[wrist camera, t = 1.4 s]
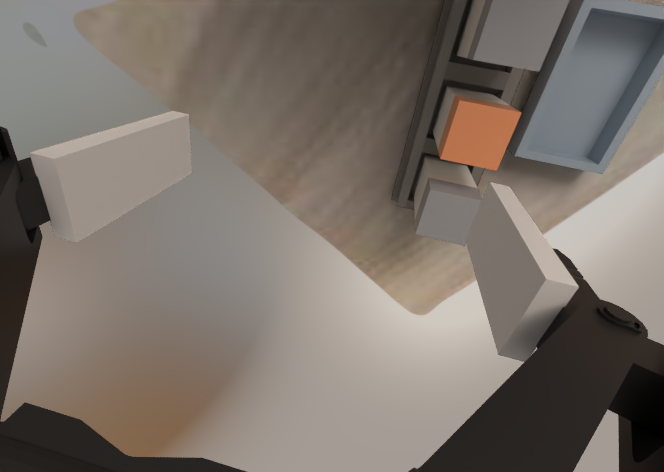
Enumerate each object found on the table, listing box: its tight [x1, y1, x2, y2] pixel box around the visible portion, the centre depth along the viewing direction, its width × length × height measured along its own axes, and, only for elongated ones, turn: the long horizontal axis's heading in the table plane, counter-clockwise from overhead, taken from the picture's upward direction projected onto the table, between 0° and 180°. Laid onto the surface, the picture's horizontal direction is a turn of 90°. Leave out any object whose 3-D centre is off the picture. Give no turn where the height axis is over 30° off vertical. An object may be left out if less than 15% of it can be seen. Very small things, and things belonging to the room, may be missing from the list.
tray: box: [507, 0, 664, 174], centre depth 32 cm, size 14×9×3 cm, turn 171°
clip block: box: [392, 0, 525, 210], centre depth 35 cm, size 23×9×3 cm, turn 171°
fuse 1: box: [414, 154, 482, 246], centre depth 34 cm, size 4×4×11 cm
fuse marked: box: [432, 85, 522, 171], centre depth 31 cm, size 4×4×11 cm
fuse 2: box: [455, 0, 570, 72], centre depth 27 cm, size 4×4×11 cm
